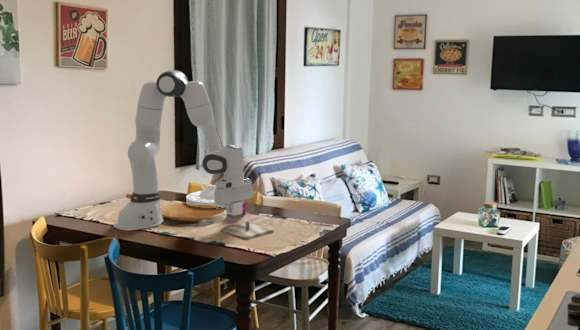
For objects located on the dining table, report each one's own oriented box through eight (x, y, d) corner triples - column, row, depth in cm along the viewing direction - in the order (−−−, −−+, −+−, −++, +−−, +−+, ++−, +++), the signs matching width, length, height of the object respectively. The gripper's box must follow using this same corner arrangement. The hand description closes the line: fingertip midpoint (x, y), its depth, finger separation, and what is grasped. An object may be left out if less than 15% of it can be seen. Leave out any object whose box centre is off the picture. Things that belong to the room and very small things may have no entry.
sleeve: (233, 218, 280) (233, 203, 279) (226, 216, 284) (226, 201, 282) (242, 216, 284) (242, 201, 283) (235, 214, 287) (235, 199, 286)
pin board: (246, 239, 262) (246, 229, 261) (221, 231, 273) (221, 221, 272) (273, 231, 273) (273, 221, 272) (249, 224, 284) (249, 214, 283)
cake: (220, 212, 306) (219, 192, 304) (174, 205, 319) (174, 186, 318) (251, 199, 330) (251, 182, 328) (208, 193, 343) (207, 176, 342)
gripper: (246, 176, 290) (247, 205, 293) (211, 183, 276) (212, 213, 278) (256, 178, 286) (256, 208, 288) (221, 185, 271) (221, 216, 274)
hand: (234, 211), depth 283 cm, fingers closed on sleeve, 5 cm apart
